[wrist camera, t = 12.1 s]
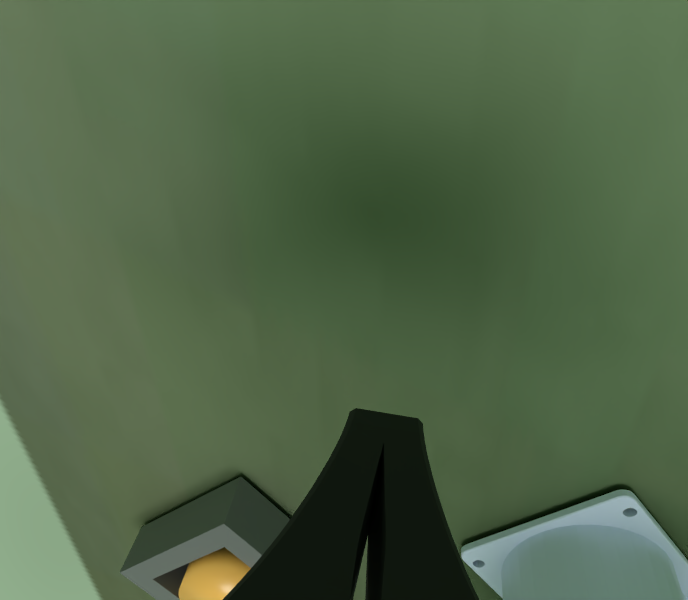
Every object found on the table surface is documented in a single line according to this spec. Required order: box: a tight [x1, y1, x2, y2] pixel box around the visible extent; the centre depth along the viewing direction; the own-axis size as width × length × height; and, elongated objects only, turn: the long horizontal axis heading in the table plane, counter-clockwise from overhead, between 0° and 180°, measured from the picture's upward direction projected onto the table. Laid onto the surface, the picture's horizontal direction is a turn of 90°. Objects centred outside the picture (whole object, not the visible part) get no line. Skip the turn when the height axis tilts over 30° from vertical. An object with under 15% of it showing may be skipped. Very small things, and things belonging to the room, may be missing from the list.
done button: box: [179, 547, 251, 600], centre depth 29 cm, size 4×4×2 cm
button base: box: [120, 477, 290, 600], centre depth 30 cm, size 7×7×2 cm
